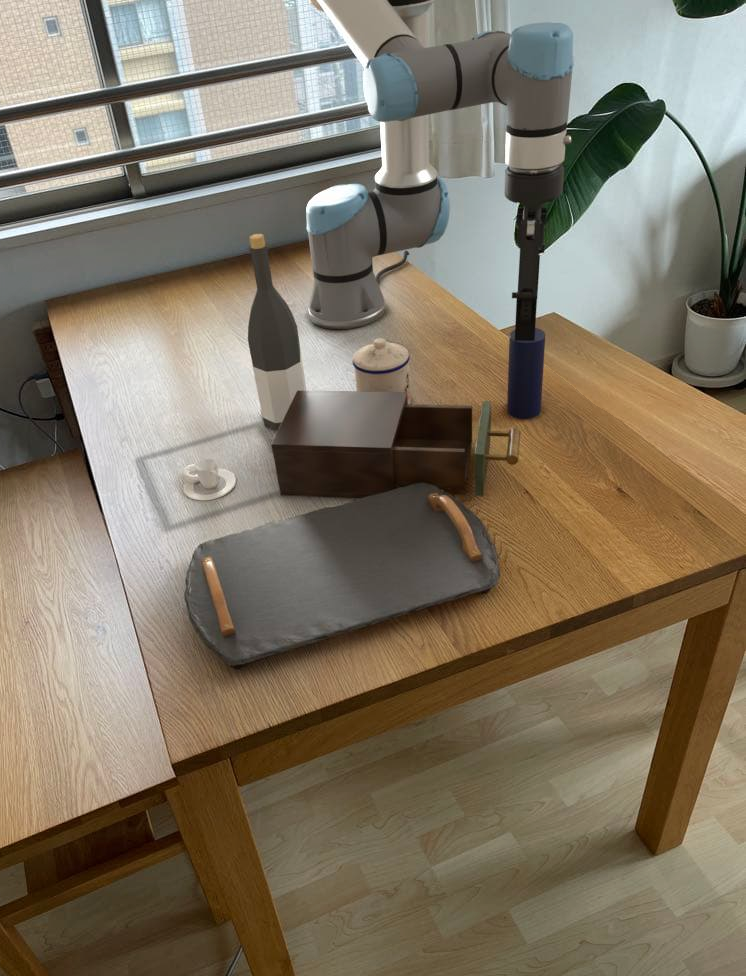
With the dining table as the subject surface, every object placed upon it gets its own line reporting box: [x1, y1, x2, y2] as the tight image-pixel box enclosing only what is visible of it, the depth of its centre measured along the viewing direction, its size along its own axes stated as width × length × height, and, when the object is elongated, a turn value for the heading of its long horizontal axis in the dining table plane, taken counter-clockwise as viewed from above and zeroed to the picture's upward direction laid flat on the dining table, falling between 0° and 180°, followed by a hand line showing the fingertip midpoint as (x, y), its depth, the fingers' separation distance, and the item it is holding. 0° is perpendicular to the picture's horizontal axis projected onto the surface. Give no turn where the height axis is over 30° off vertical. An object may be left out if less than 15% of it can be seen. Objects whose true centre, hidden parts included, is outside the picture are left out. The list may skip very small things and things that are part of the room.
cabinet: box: [270, 390, 408, 500], centre depth 119 cm, size 17×15×9 cm
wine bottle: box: [247, 233, 307, 432], centre depth 125 cm, size 8×8×30 cm
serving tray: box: [183, 482, 501, 671], centre depth 101 cm, size 39×23×6 cm, turn 108°
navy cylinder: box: [506, 327, 546, 420], centre depth 125 cm, size 5×5×13 cm
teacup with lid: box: [351, 337, 411, 404], centre depth 132 cm, size 12×9×12 cm
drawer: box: [392, 400, 521, 497], centre depth 116 cm, size 20×14×7 cm
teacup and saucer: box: [181, 457, 237, 502], centre depth 121 cm, size 9×8×4 cm
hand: (526, 318), depth 119 cm, fingers open, 13 cm apart
